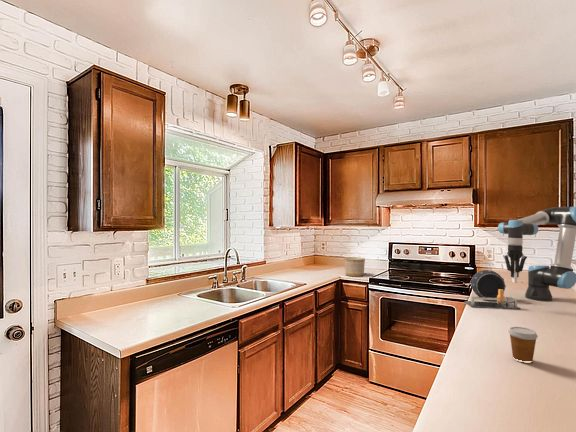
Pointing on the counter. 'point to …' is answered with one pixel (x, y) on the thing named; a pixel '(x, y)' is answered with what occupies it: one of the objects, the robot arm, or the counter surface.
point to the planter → (354, 266)
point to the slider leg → (500, 295)
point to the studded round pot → (487, 283)
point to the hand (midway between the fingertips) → (514, 282)
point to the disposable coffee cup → (523, 343)
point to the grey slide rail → (508, 299)
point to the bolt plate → (492, 305)
